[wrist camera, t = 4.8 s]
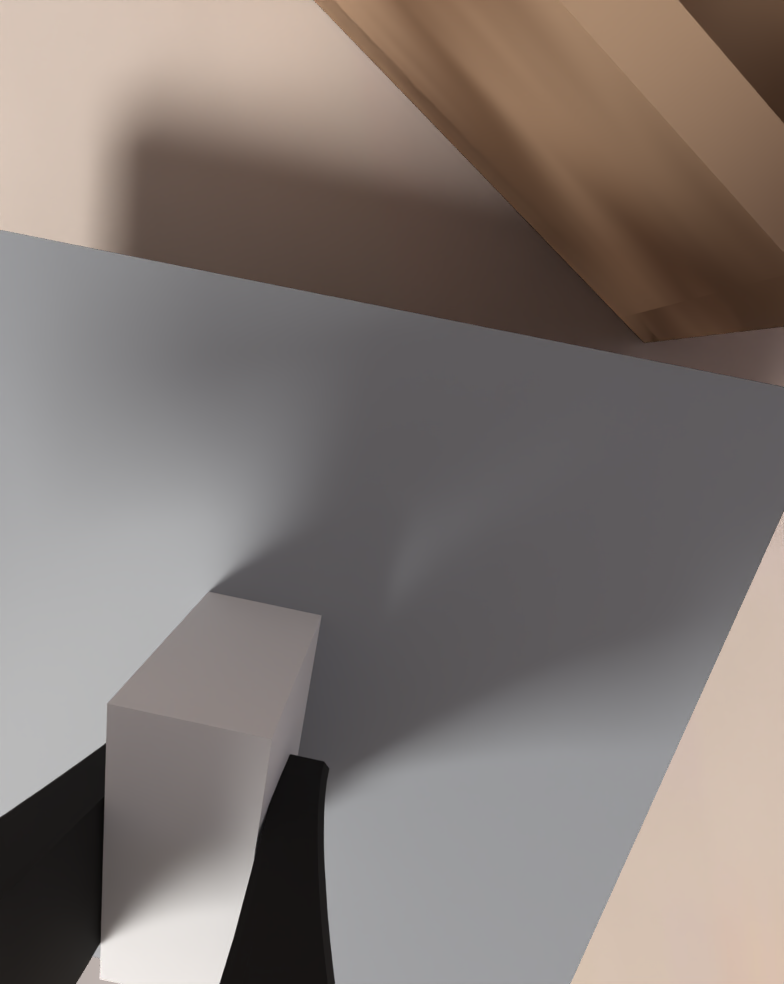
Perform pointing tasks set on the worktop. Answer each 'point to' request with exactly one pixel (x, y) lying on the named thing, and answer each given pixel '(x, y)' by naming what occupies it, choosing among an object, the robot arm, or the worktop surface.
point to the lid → (356, 603)
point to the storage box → (615, 138)
